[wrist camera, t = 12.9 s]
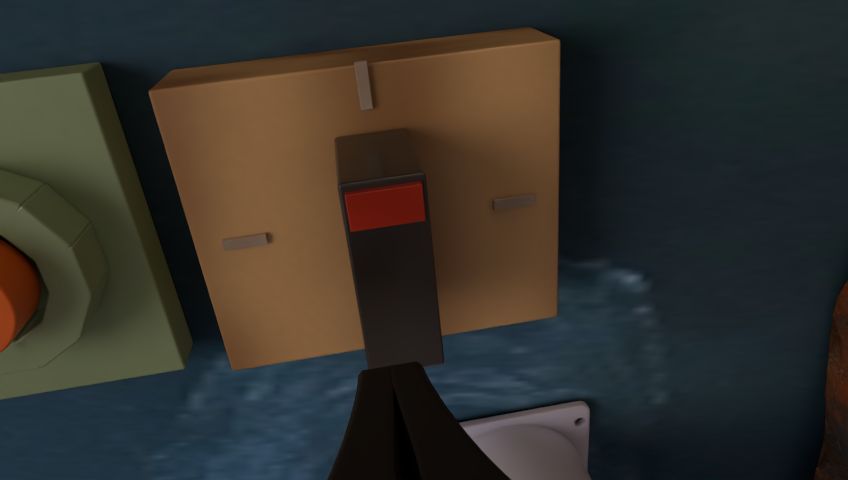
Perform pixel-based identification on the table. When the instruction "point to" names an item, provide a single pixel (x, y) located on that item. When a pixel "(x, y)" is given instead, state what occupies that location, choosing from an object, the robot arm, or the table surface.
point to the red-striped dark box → (390, 247)
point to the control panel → (318, 194)
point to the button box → (81, 239)
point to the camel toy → (836, 398)
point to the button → (15, 293)
